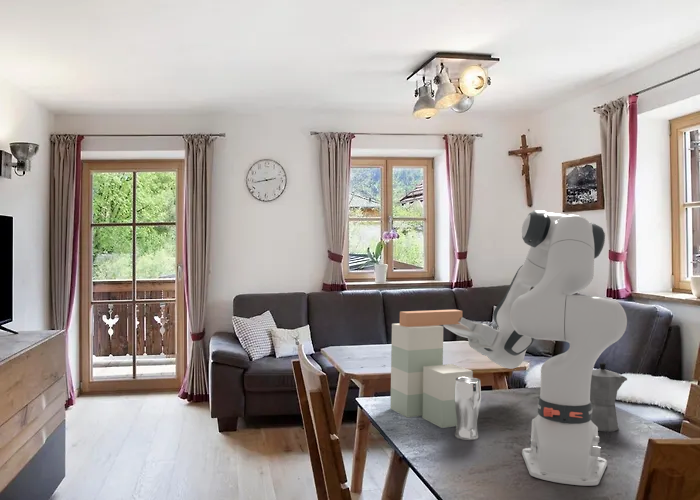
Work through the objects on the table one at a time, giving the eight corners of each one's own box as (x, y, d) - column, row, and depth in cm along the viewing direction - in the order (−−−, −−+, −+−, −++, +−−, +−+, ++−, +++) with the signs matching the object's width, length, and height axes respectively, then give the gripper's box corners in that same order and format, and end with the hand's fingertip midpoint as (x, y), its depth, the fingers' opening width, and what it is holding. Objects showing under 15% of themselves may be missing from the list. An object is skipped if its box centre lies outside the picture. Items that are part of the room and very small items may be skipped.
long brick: (454, 322, 186) (454, 309, 186) (462, 323, 182) (462, 310, 182) (399, 324, 177) (399, 311, 177) (406, 326, 174) (406, 313, 173)
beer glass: (468, 442, 150) (469, 384, 150) (447, 435, 155) (448, 379, 155) (485, 437, 154) (486, 380, 154) (464, 430, 160) (465, 375, 159)
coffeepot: (632, 428, 164) (633, 364, 164) (619, 436, 157) (620, 368, 157) (577, 416, 175) (578, 356, 174) (563, 423, 168) (564, 360, 168)
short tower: (451, 414, 175) (452, 364, 175) (471, 423, 166) (472, 370, 166) (422, 418, 170) (423, 366, 170) (441, 428, 161) (442, 373, 161)
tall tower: (423, 404, 185) (425, 322, 185) (441, 413, 176) (443, 326, 175) (390, 408, 180) (391, 323, 179) (407, 417, 171) (408, 328, 170)
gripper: (466, 325, 198) (437, 305, 193) (507, 333, 179) (475, 312, 174) (458, 341, 196) (428, 322, 191) (498, 352, 178) (466, 331, 173)
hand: (451, 317), depth 183 cm, fingers open, 8 cm apart
